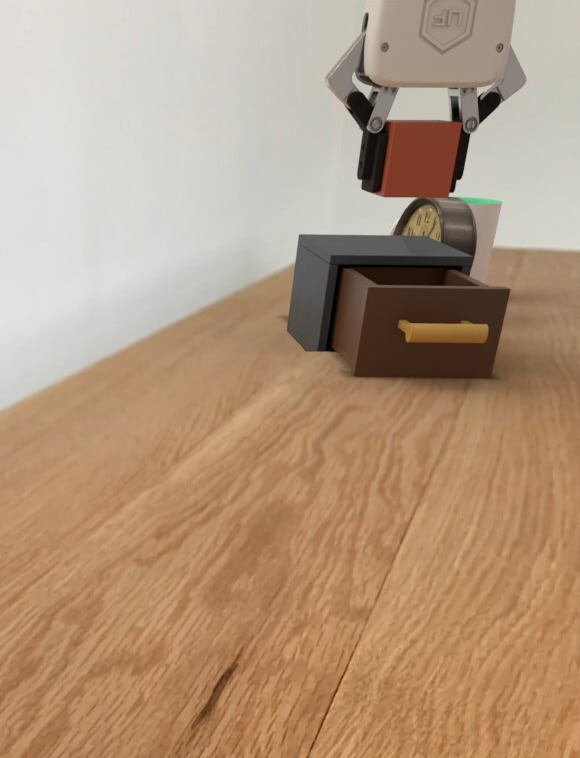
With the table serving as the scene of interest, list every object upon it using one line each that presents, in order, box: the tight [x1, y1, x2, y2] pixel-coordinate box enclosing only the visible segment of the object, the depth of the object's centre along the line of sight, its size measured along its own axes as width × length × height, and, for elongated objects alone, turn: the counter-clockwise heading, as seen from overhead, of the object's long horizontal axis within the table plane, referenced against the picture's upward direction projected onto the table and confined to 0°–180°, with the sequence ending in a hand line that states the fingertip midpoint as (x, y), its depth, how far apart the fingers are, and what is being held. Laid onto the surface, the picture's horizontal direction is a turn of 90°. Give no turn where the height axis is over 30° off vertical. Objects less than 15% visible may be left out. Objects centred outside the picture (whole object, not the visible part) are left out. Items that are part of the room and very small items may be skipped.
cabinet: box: [286, 233, 473, 353], centre depth 106 cm, size 14×13×9 cm
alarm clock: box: [393, 196, 477, 268], centre depth 117 cm, size 11×5×16 cm, turn 10°
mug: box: [388, 196, 503, 284], centre depth 130 cm, size 12×8×10 cm
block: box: [372, 119, 462, 198], centre depth 85 cm, size 5×5×5 cm
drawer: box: [328, 265, 512, 379], centre depth 94 cm, size 17×11×7 cm, turn 179°
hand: (407, 188), depth 86 cm, fingers closed on block, 5 cm apart
